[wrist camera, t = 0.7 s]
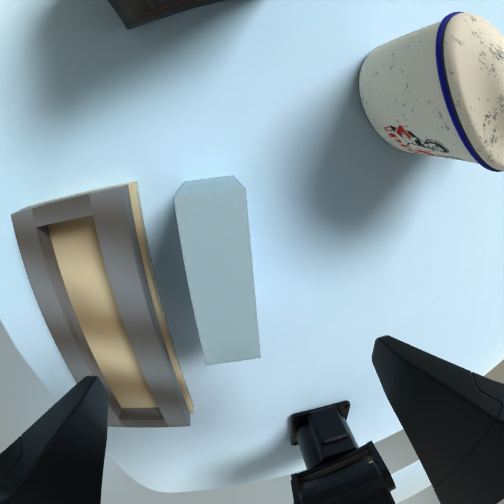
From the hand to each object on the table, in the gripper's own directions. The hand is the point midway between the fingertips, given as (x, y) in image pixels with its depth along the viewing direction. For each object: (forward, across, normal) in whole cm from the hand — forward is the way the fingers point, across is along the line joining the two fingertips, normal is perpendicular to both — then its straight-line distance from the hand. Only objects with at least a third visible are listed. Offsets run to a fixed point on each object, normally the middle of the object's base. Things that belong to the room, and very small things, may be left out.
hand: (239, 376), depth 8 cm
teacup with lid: (+12, -16, -10) cm, 22 cm away
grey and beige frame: (+12, +9, +5) cm, 16 cm away
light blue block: (+12, 0, 0) cm, 12 cm away
